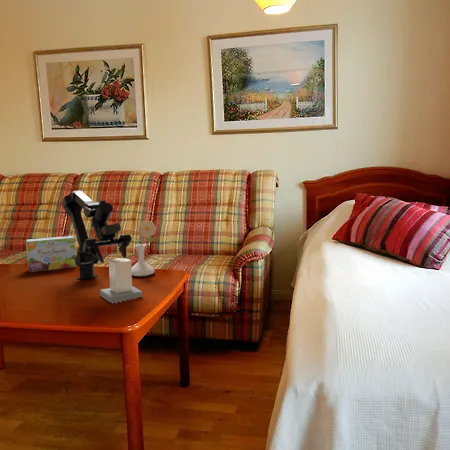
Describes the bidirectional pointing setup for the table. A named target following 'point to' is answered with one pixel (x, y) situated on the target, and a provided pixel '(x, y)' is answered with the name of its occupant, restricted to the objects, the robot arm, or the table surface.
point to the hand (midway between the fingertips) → (114, 260)
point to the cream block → (120, 275)
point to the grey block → (120, 295)
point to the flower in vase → (141, 266)
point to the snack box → (50, 253)
